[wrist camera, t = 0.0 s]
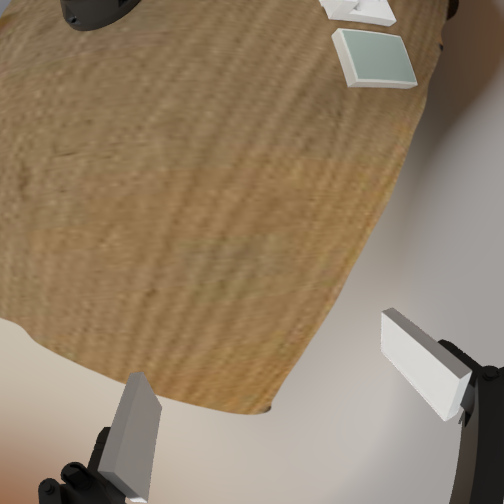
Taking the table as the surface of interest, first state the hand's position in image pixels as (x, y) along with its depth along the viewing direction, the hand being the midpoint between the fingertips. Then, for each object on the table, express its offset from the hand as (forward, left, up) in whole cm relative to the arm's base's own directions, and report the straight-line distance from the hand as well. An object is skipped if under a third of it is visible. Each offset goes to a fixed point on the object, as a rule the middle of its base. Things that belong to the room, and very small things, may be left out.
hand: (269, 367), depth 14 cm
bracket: (-38, +30, -28) cm, 56 cm away
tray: (-26, +29, -28) cm, 48 cm away
